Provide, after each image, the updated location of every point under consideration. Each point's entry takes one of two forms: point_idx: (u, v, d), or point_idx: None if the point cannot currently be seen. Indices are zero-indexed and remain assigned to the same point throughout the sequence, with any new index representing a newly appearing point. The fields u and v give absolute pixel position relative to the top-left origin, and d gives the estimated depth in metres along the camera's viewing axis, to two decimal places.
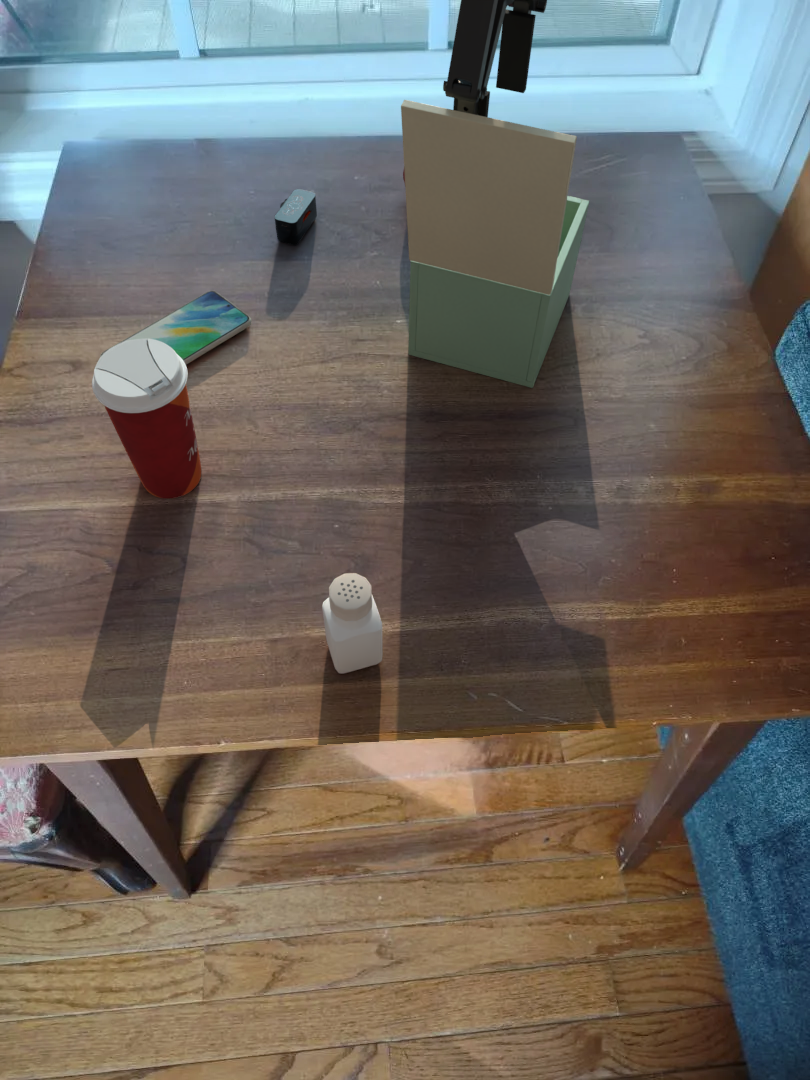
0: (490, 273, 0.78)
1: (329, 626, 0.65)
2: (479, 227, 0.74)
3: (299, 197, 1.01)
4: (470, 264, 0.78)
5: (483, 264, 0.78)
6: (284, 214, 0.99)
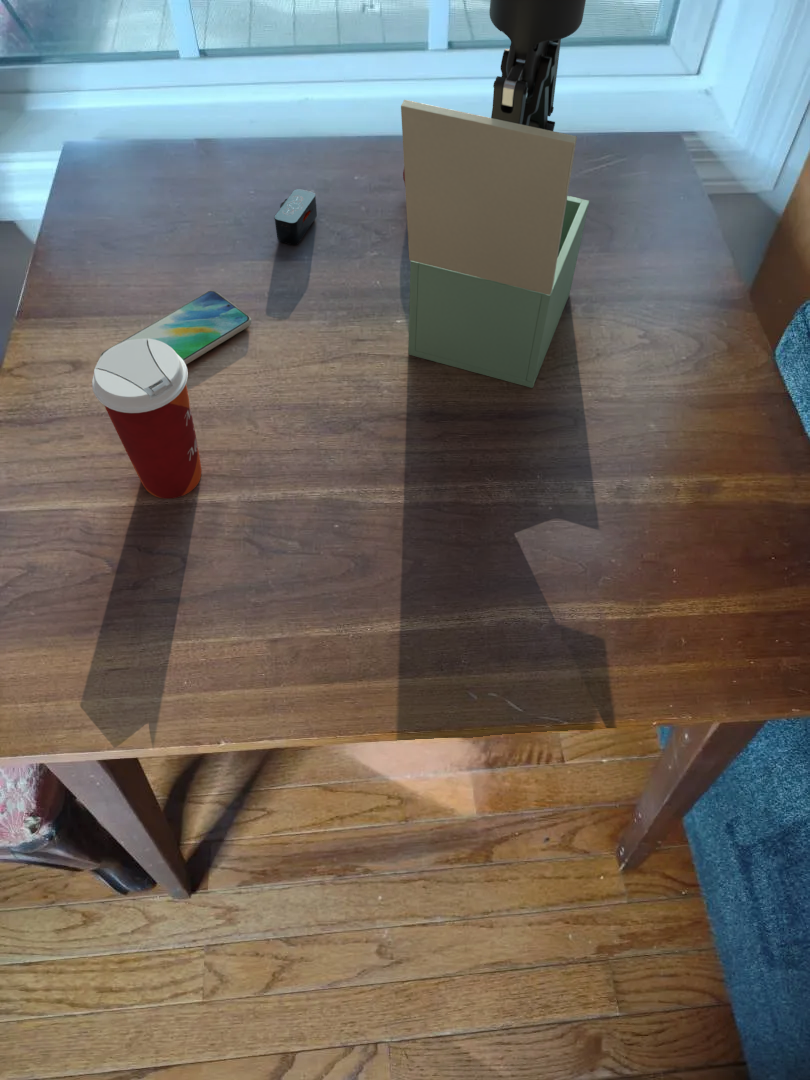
0: (490, 273, 0.78)
1: None
2: (479, 227, 0.74)
3: (299, 197, 1.01)
4: (470, 264, 0.78)
5: (483, 264, 0.78)
6: (284, 214, 0.99)
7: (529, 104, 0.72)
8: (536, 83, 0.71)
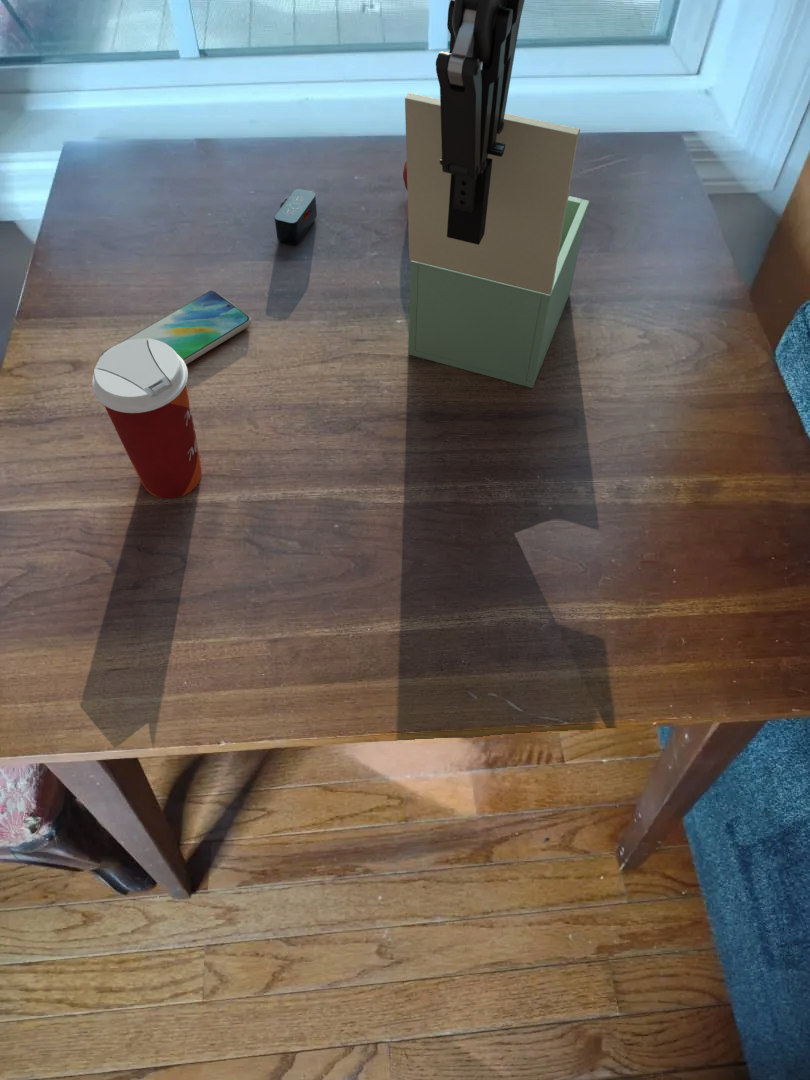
0: (490, 272, 0.78)
1: None
2: None
3: (299, 197, 1.01)
4: (471, 263, 0.78)
5: (483, 263, 0.78)
6: (284, 214, 0.99)
7: (489, 71, 0.56)
8: (495, 46, 0.55)
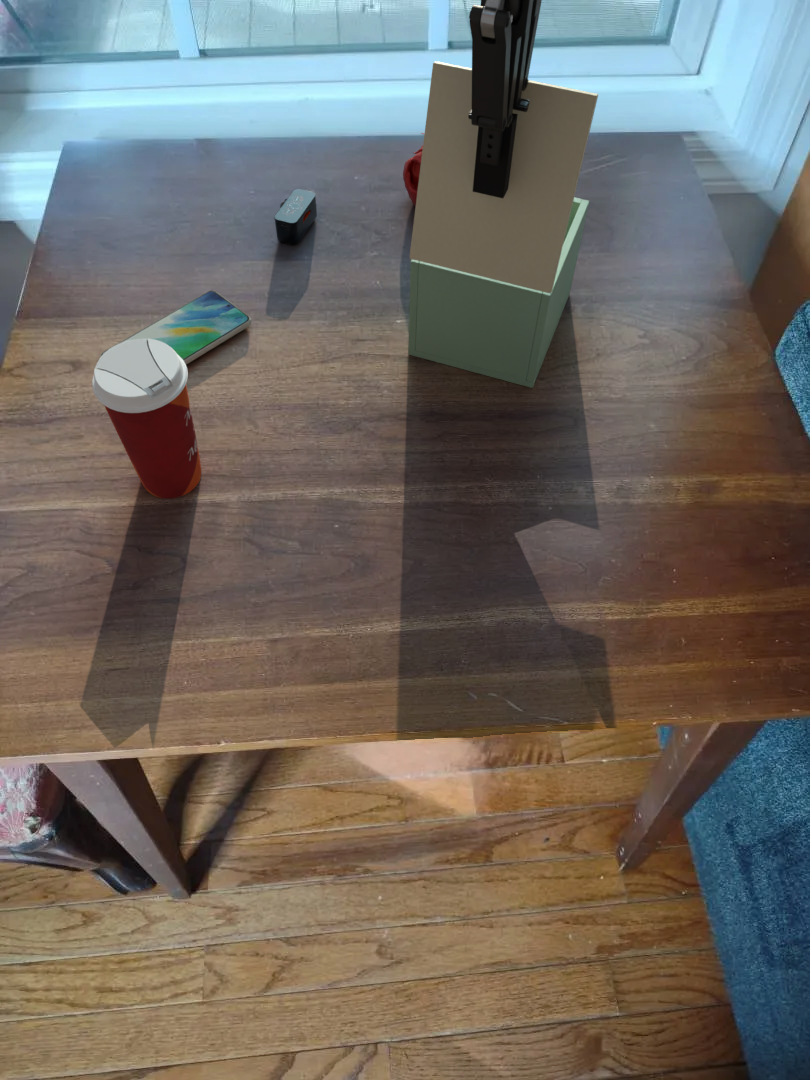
0: (492, 269, 0.78)
1: None
2: (488, 209, 0.75)
3: (299, 197, 1.01)
4: (473, 258, 0.78)
5: (486, 257, 0.78)
6: (284, 214, 0.99)
7: (517, 26, 0.60)
8: (523, 1, 0.59)
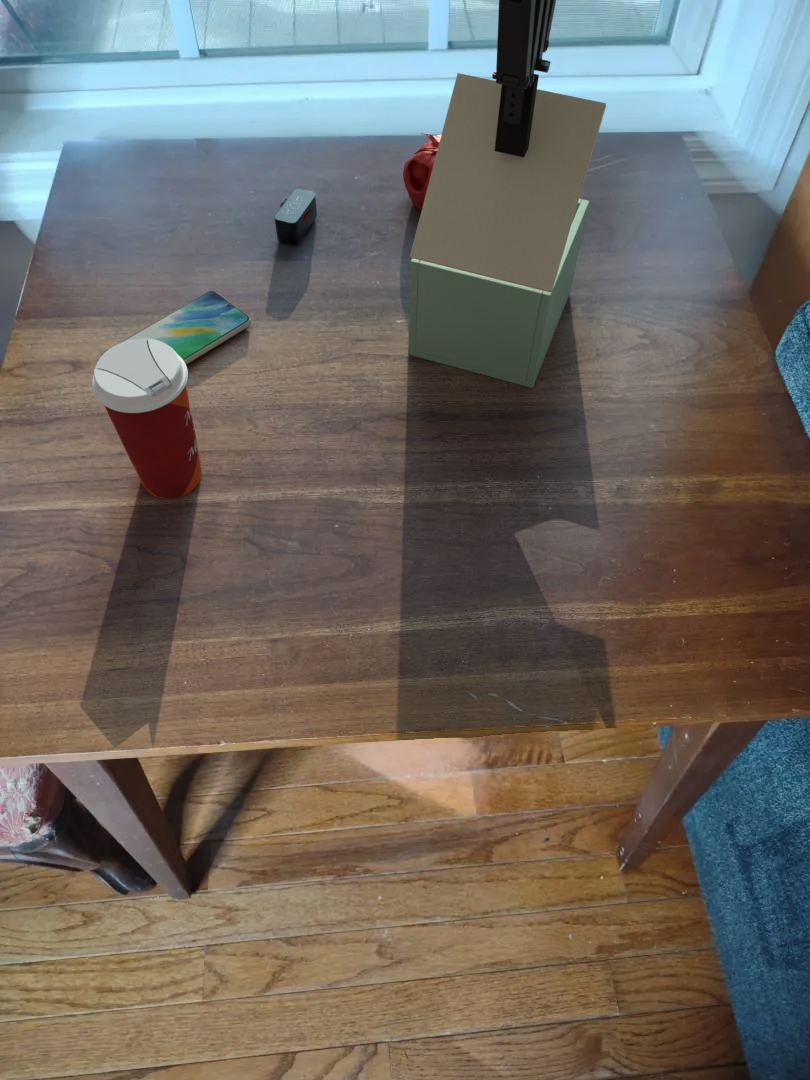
0: (493, 266, 0.79)
1: None
2: (496, 205, 0.78)
3: (299, 197, 1.01)
4: (475, 255, 0.79)
5: (489, 254, 0.79)
6: (284, 214, 0.99)
7: None
8: None
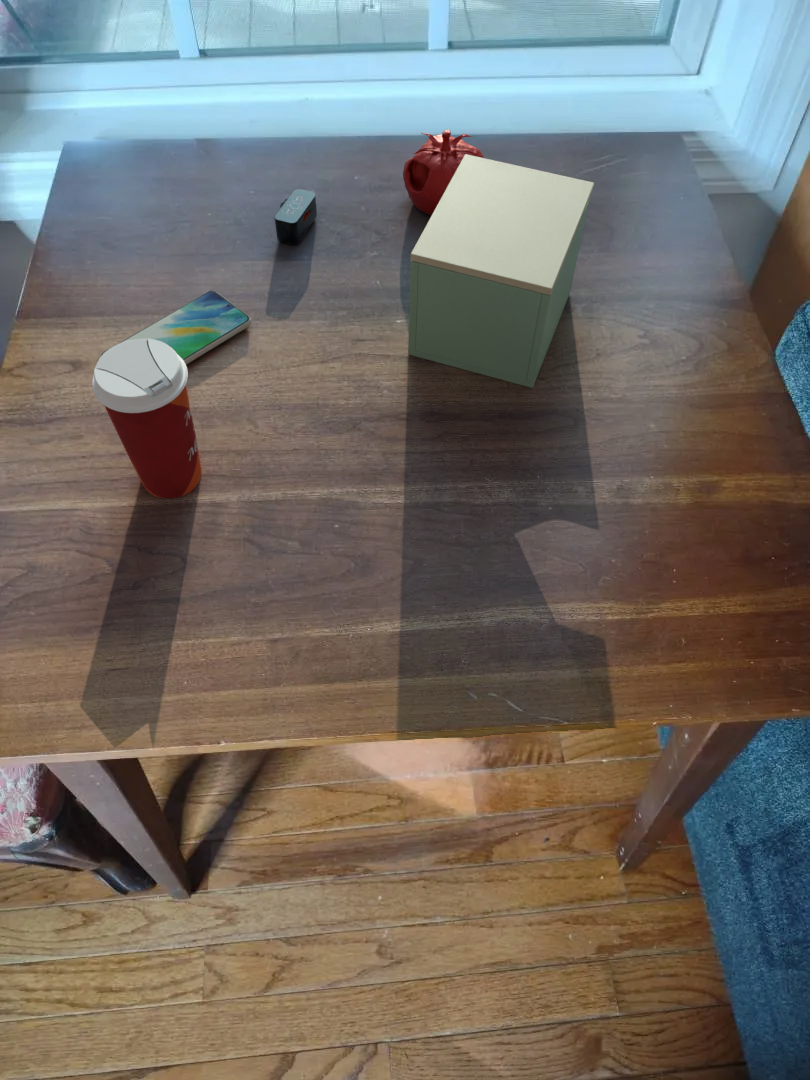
0: (494, 267, 0.79)
1: None
2: (497, 230, 0.82)
3: (299, 197, 1.01)
4: (476, 259, 0.80)
5: (490, 259, 0.80)
6: (284, 214, 0.99)
7: None
8: None
